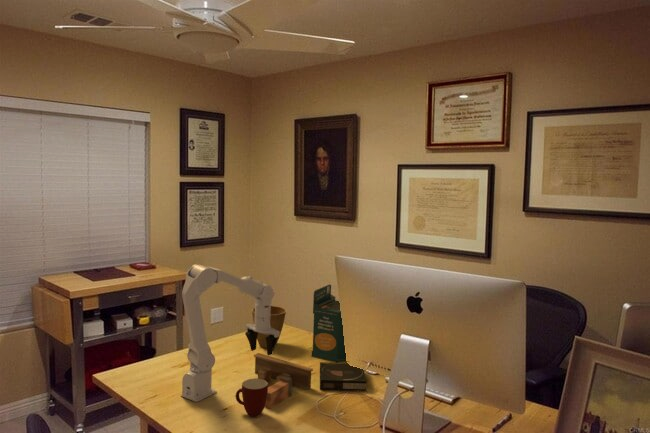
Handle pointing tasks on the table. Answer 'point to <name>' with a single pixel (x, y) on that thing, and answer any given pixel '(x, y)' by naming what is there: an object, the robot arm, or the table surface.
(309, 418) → the table surface
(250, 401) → the mug
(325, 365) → the portable cd player
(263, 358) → the board
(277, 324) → the plant pot
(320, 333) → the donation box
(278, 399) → the brown boxy piece
